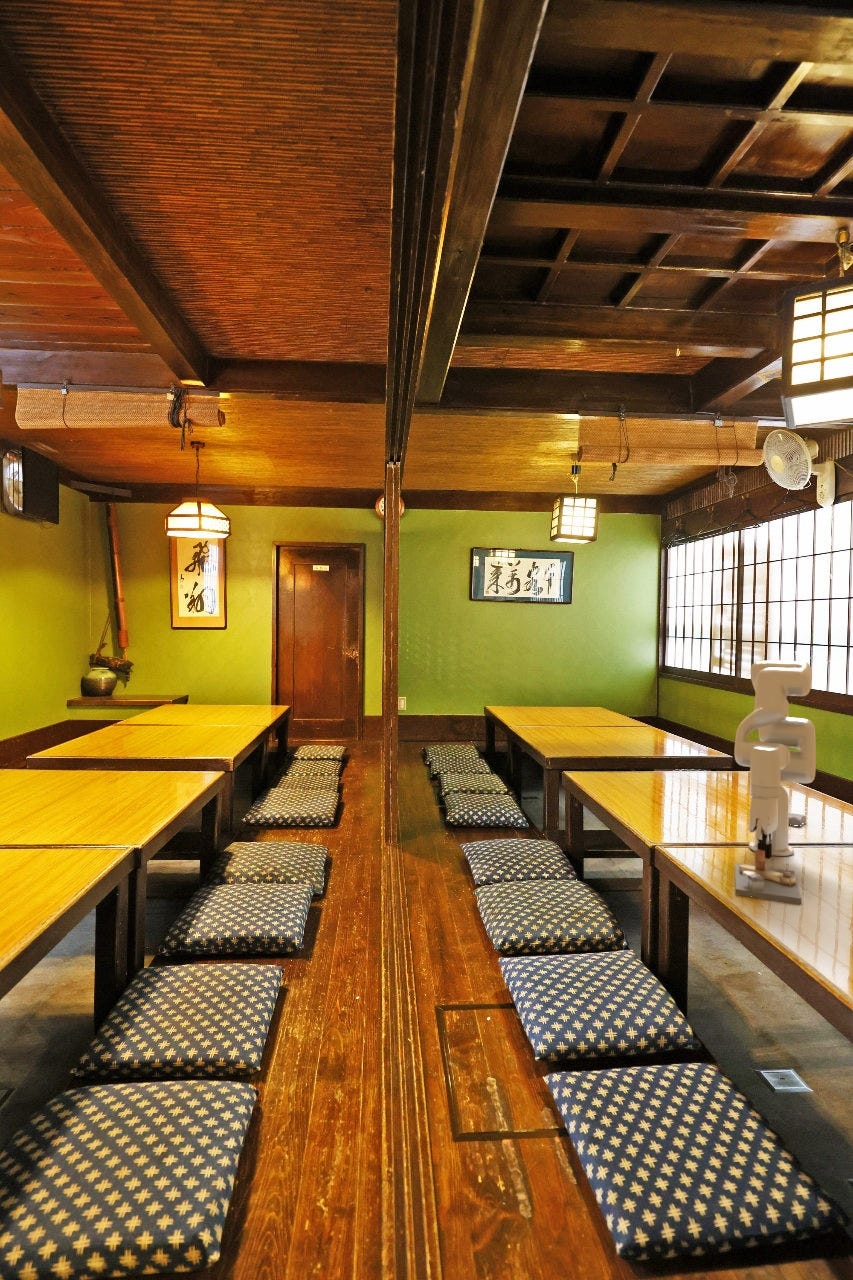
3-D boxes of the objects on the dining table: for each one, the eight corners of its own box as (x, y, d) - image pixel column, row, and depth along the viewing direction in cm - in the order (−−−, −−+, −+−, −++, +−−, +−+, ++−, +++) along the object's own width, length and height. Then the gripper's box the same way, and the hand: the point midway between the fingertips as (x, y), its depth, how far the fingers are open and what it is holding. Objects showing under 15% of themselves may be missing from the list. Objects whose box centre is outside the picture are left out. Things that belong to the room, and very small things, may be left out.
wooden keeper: (753, 883, 180) (753, 871, 180) (763, 890, 175) (763, 877, 175) (742, 883, 180) (742, 871, 180) (752, 890, 175) (752, 878, 175)
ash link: (797, 882, 180) (798, 857, 180) (791, 886, 177) (792, 860, 177) (744, 868, 190) (744, 844, 190) (738, 872, 188) (738, 847, 188)
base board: (735, 868, 196) (735, 863, 196) (793, 876, 190) (793, 870, 190) (735, 894, 176) (735, 889, 176) (801, 904, 170) (801, 898, 170)
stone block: (773, 821, 254) (764, 821, 247) (774, 808, 254) (765, 807, 247) (808, 829, 245) (799, 829, 238) (809, 815, 246) (801, 815, 239)
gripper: (759, 784, 195) (759, 848, 196) (741, 793, 185) (740, 860, 185) (788, 789, 190) (787, 854, 190) (770, 798, 179) (770, 867, 180)
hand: (764, 857), depth 188 cm, fingers closed
